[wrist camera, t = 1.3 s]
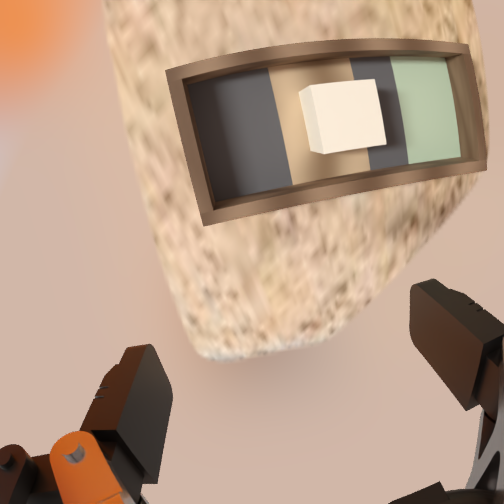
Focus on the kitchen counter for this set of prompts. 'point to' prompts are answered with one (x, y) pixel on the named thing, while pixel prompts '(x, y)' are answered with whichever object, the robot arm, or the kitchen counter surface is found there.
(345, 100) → the cream block
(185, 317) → the kitchen counter surface
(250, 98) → the channel
